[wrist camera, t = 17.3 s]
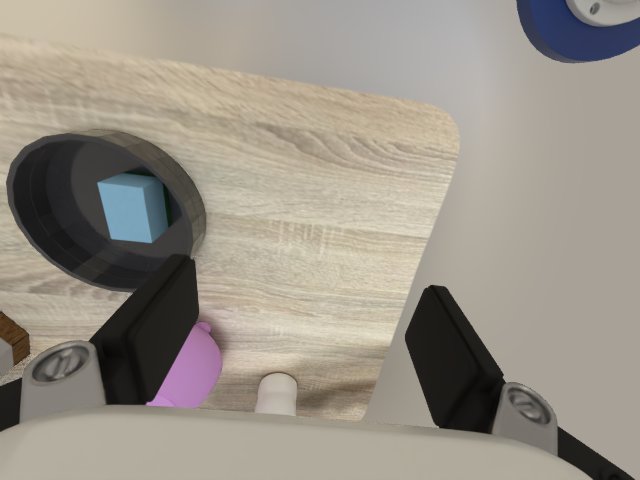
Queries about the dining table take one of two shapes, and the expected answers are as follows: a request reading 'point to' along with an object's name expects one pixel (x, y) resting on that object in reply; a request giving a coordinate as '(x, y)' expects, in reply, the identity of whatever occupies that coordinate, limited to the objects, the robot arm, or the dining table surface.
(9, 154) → the dining table surface
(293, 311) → the dining table surface
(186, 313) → the robot arm
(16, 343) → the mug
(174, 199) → the pan
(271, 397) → the water bottle
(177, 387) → the teapot
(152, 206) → the sponge
